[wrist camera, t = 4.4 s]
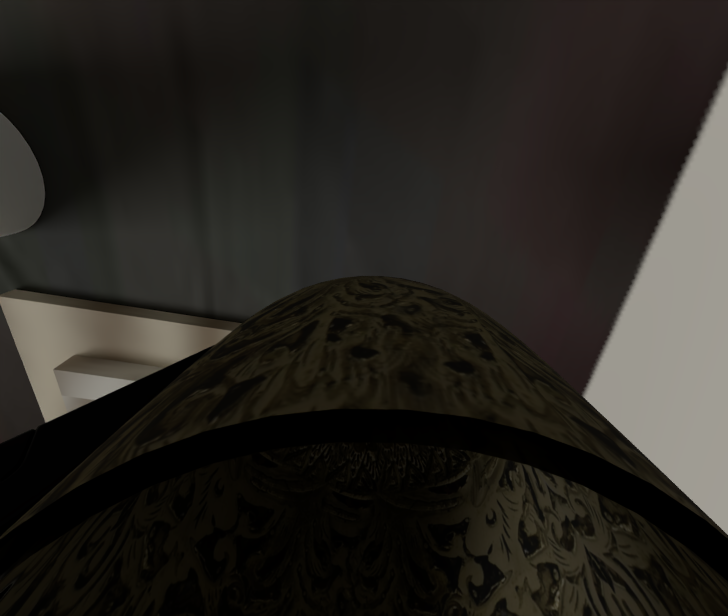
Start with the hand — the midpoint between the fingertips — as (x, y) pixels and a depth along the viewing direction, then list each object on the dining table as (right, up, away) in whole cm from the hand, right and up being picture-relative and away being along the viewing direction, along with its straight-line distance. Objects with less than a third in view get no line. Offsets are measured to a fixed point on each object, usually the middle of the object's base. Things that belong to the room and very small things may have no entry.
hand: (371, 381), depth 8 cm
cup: (0, +1, +2) cm, 2 cm away
